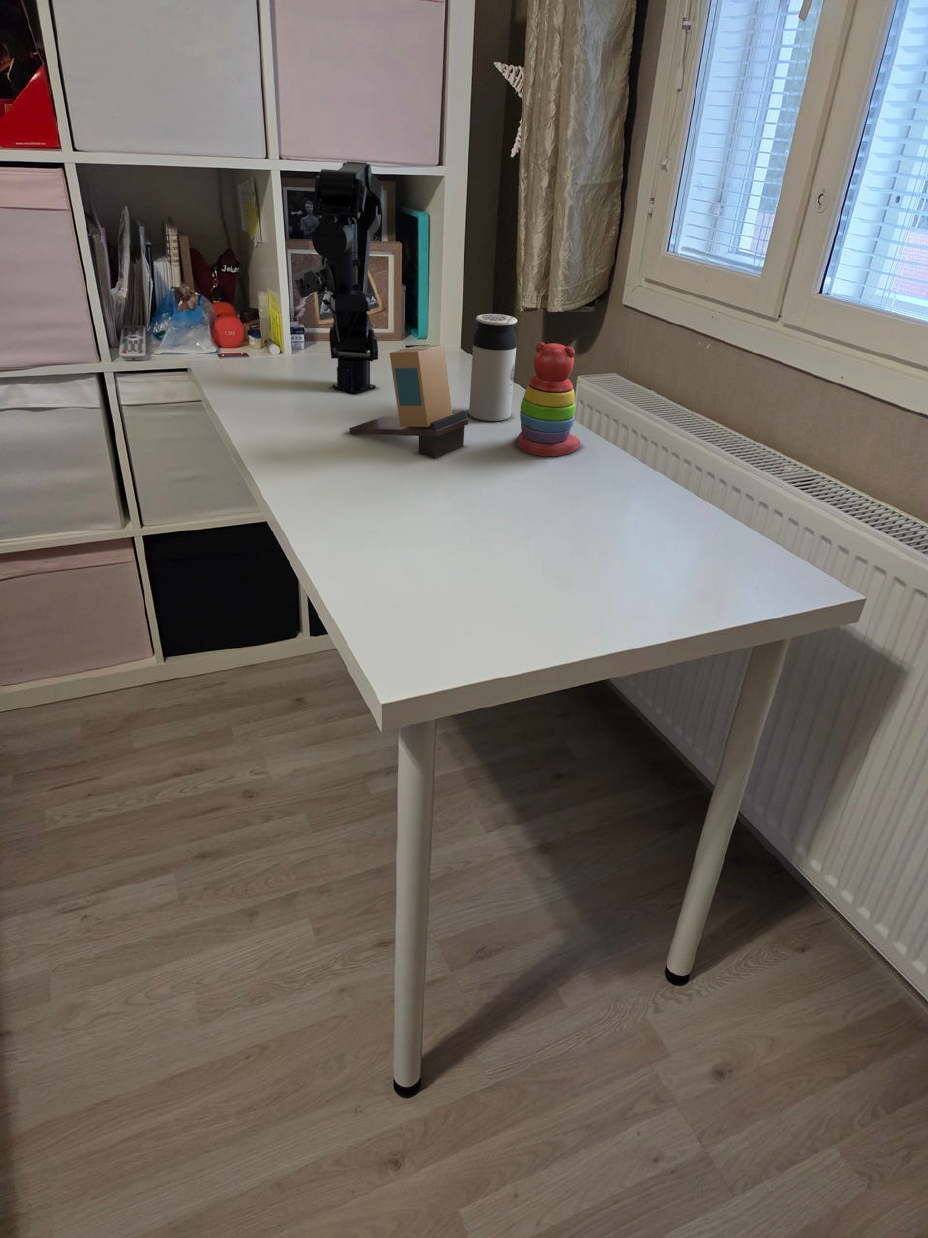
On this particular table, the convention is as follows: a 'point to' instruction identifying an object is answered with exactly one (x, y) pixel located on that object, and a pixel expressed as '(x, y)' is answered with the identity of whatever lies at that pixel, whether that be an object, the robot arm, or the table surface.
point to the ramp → (422, 433)
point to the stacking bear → (549, 404)
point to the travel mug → (493, 367)
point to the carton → (421, 385)
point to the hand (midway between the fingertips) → (342, 342)
